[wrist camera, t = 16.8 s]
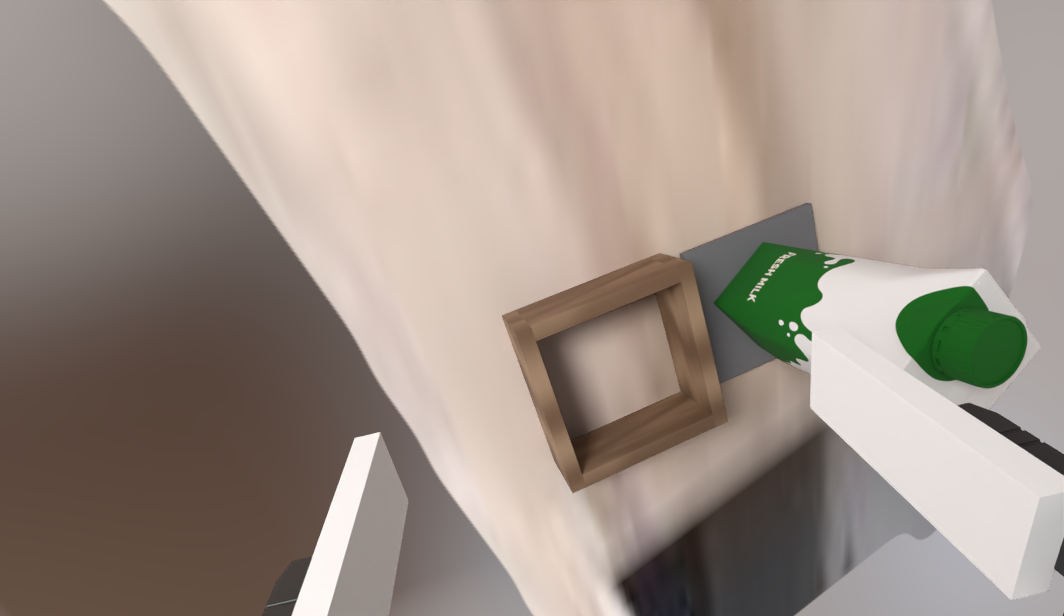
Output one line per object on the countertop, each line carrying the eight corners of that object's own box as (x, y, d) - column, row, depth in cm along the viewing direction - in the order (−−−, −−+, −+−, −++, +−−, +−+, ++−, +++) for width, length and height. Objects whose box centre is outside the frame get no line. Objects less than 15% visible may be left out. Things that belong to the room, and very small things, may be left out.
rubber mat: (679, 253, 43) (683, 254, 43) (806, 203, 45) (811, 203, 45) (710, 383, 47) (713, 386, 47) (825, 331, 49) (830, 333, 49)
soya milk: (762, 226, 44) (1035, 257, 25) (819, 288, 47) (1100, 357, 28) (699, 305, 44) (922, 394, 25) (760, 361, 47) (999, 478, 28)
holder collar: (501, 315, 40) (515, 332, 36) (659, 253, 43) (691, 261, 38) (554, 460, 45) (572, 493, 40) (695, 397, 47) (728, 421, 42)
